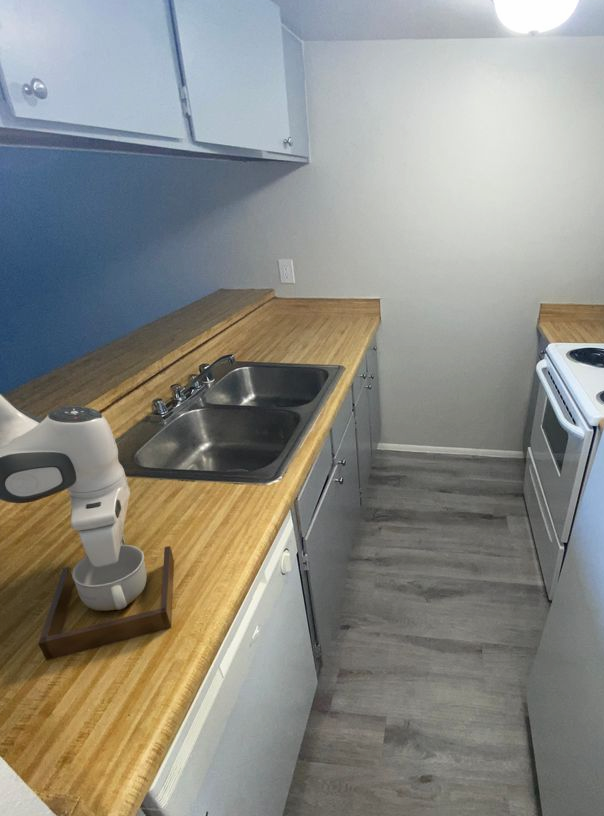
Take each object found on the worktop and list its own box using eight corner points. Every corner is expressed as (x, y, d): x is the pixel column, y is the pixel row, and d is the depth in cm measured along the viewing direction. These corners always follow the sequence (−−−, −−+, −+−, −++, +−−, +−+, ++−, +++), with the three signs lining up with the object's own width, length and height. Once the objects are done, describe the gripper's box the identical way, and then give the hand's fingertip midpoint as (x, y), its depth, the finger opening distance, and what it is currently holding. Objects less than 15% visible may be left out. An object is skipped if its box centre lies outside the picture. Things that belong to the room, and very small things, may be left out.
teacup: (87, 584, 88) (75, 552, 85) (151, 567, 93) (142, 535, 89) (80, 643, 77) (66, 609, 74) (154, 620, 82) (143, 586, 78)
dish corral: (46, 660, 74) (38, 643, 73) (68, 583, 88) (62, 568, 86) (171, 627, 81) (166, 611, 79) (174, 561, 95) (170, 545, 93)
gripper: (89, 465, 92) (108, 521, 98) (68, 530, 75) (92, 592, 81) (126, 459, 94) (142, 515, 100) (113, 521, 77) (133, 583, 84)
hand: (119, 550), depth 91 cm, fingers closed
